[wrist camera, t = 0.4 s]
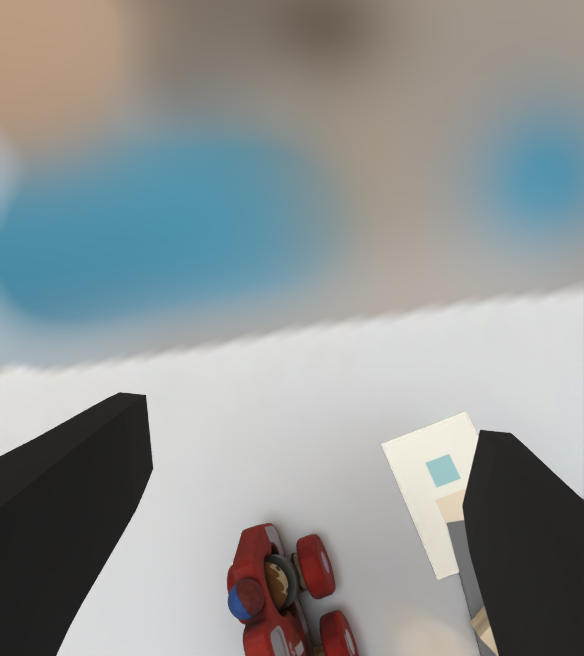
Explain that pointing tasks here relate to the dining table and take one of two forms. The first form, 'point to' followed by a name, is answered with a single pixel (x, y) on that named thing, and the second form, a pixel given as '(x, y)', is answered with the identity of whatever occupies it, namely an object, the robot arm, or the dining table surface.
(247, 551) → the toy fire truck
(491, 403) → the dining table surface
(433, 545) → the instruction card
